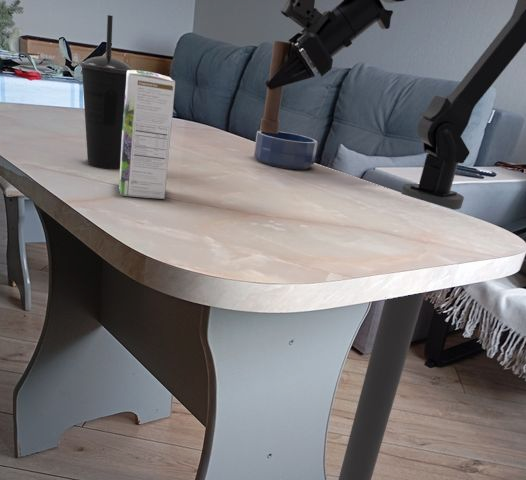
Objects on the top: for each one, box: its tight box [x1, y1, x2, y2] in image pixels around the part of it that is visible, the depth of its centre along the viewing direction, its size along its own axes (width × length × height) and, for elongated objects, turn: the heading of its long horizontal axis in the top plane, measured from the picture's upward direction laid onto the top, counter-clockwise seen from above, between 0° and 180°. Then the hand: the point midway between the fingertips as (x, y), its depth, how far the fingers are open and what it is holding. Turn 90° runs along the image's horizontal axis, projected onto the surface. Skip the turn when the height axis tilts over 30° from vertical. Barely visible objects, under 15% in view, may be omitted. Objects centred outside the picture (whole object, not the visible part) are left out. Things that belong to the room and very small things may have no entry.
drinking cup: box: [79, 14, 135, 170], centre depth 88 cm, size 8×8×20 cm
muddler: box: [259, 39, 290, 134], centre depth 103 cm, size 3×3×14 cm
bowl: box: [253, 130, 319, 171], centre depth 117 cm, size 11×11×5 cm
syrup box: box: [118, 69, 176, 200], centre depth 78 cm, size 6×6×14 cm
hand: (267, 86), depth 103 cm, fingers closed on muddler, 2 cm apart
